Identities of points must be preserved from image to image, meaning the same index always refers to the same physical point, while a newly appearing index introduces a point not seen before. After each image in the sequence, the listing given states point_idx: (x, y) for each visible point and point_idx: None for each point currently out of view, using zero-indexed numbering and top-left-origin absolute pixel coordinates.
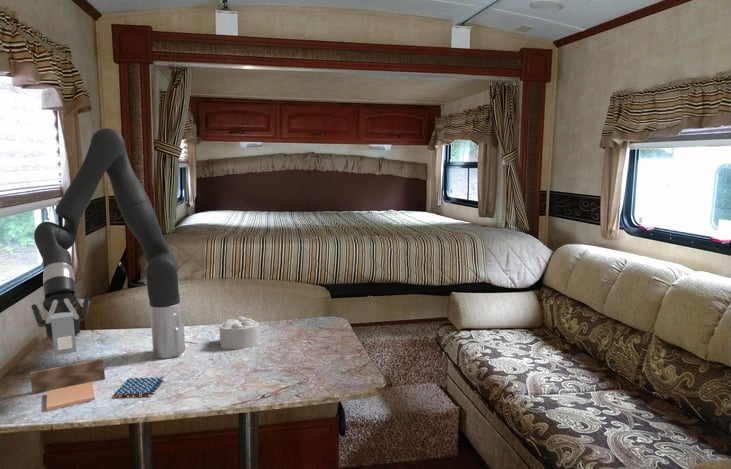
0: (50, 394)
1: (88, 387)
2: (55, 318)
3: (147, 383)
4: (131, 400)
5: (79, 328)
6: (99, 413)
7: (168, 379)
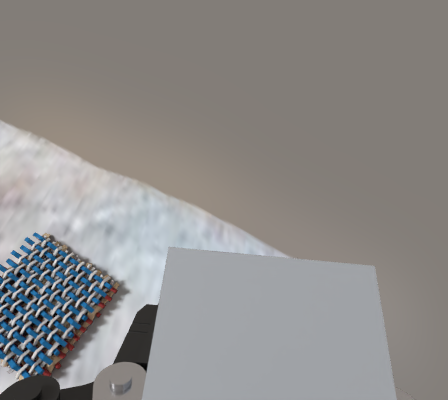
0: None
1: None
2: (331, 262)
3: (11, 298)
4: (91, 244)
5: (139, 315)
6: (173, 222)
7: None
